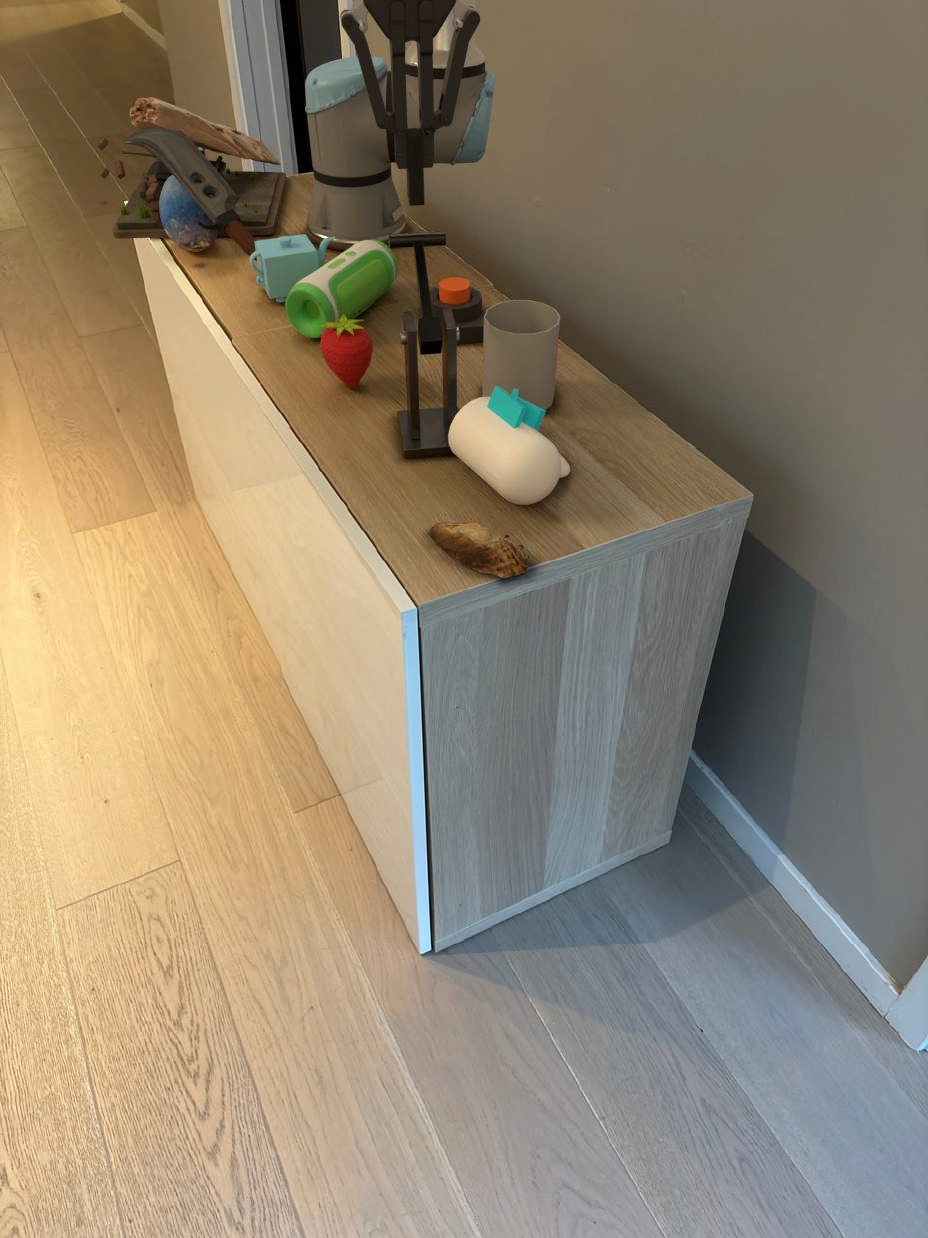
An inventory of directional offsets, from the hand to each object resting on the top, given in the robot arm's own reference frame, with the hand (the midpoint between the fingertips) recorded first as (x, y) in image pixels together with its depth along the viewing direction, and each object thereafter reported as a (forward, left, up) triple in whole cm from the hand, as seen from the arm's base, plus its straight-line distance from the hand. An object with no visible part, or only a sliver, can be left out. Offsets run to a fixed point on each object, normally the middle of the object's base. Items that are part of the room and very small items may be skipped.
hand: (415, 200), depth 96 cm
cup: (+3, +11, -22) cm, 25 cm away
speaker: (-21, -8, -22) cm, 31 cm away
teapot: (-28, -14, -22) cm, 38 cm away
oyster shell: (+27, 0, -20) cm, 33 cm away
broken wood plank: (-66, -26, -15) cm, 72 cm away
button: (-16, +6, -18) cm, 25 cm away
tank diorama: (-62, -31, -22) cm, 73 cm away
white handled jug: (+20, +9, -22) cm, 31 cm away
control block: (-16, +6, -22) cm, 27 cm away
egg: (-39, -28, -22) cm, 53 cm away
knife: (-31, -17, -22) cm, 42 cm away
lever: (+5, 0, -8) cm, 9 cm away
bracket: (+10, 0, -22) cm, 24 cm away
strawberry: (-1, -8, -22) cm, 24 cm away
